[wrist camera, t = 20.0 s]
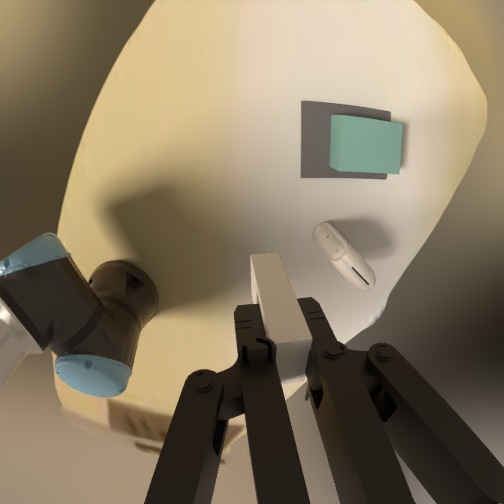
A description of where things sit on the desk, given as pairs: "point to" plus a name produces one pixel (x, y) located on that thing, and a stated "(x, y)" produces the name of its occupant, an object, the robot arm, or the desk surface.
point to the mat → (329, 138)
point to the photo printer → (344, 257)
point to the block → (365, 145)
